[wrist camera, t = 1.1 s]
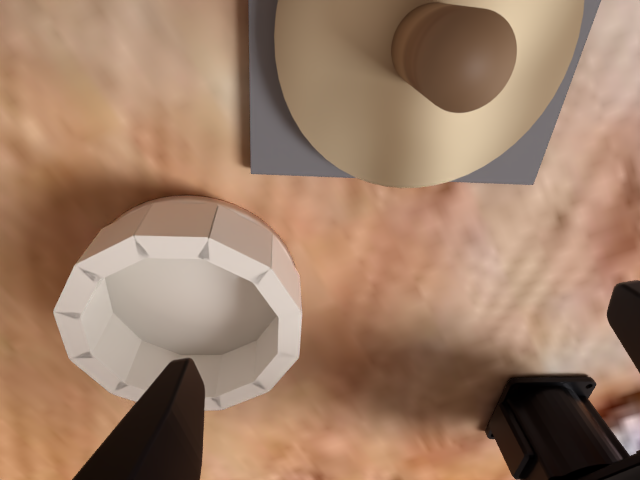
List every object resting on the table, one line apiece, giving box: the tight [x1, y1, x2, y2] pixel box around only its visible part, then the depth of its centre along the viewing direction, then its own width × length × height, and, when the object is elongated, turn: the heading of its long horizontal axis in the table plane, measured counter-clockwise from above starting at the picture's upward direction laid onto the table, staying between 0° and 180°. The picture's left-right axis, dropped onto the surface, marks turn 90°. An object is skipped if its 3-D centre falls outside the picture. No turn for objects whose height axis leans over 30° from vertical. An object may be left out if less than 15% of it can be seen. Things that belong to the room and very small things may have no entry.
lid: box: [274, 0, 584, 188], centre depth 15 cm, size 12×12×5 cm
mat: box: [249, 0, 601, 185], centre depth 17 cm, size 14×12×1 cm
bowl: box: [53, 195, 302, 411], centre depth 22 cm, size 11×11×4 cm
